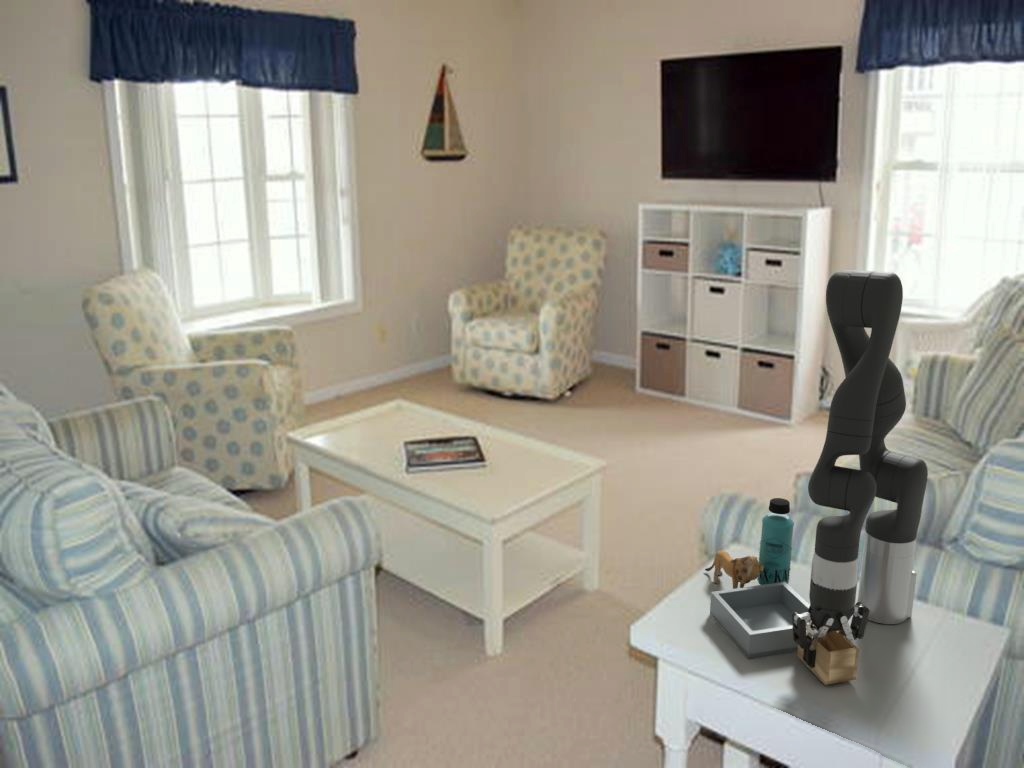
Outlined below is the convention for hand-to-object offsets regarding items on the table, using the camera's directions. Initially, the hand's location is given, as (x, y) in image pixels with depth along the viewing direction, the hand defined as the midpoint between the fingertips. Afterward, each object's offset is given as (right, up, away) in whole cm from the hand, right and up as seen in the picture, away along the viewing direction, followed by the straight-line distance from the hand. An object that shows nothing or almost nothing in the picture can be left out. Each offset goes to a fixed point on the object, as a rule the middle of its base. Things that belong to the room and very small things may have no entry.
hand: (826, 662), depth 162 cm
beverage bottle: (-1, +6, +29) cm, 30 cm away
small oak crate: (0, -1, 0) cm, 1 cm away
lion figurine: (-9, +6, +30) cm, 32 cm away
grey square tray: (-7, +2, +14) cm, 15 cm away
